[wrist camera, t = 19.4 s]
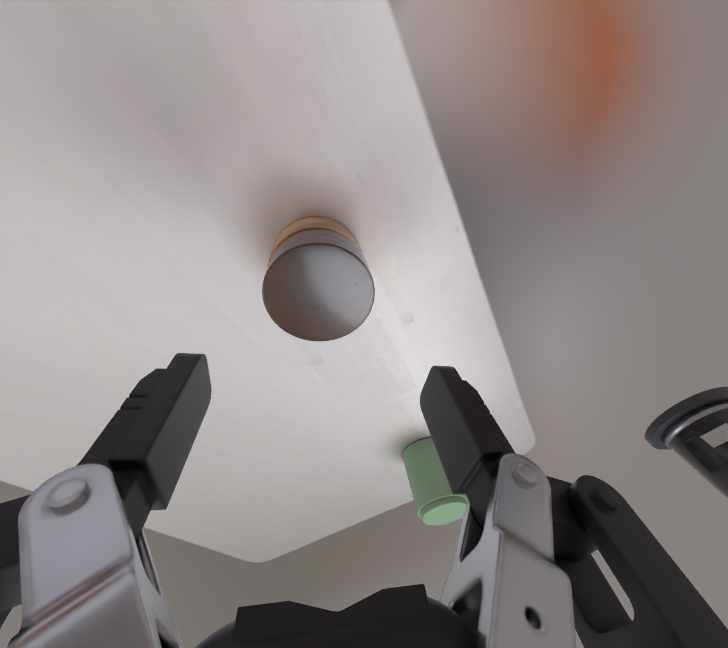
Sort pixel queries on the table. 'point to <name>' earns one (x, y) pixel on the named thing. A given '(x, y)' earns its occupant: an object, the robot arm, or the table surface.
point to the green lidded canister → (431, 485)
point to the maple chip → (313, 224)
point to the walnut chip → (318, 286)
